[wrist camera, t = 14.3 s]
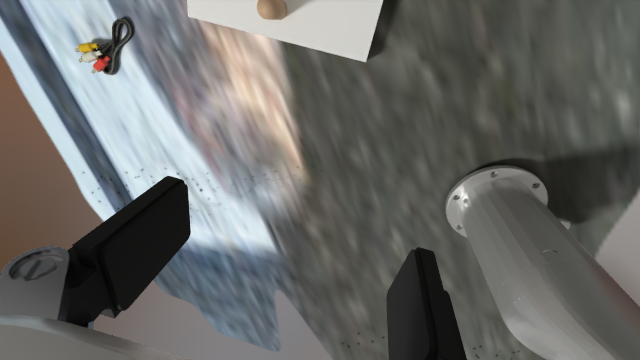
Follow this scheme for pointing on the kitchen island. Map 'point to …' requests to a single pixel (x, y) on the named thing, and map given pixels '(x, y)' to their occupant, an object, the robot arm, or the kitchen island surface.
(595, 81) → the kitchen island surface
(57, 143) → the kitchen island surface
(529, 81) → the kitchen island surface
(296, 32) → the plate
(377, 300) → the kitchen island surface
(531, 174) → the robot arm
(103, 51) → the composite cable
